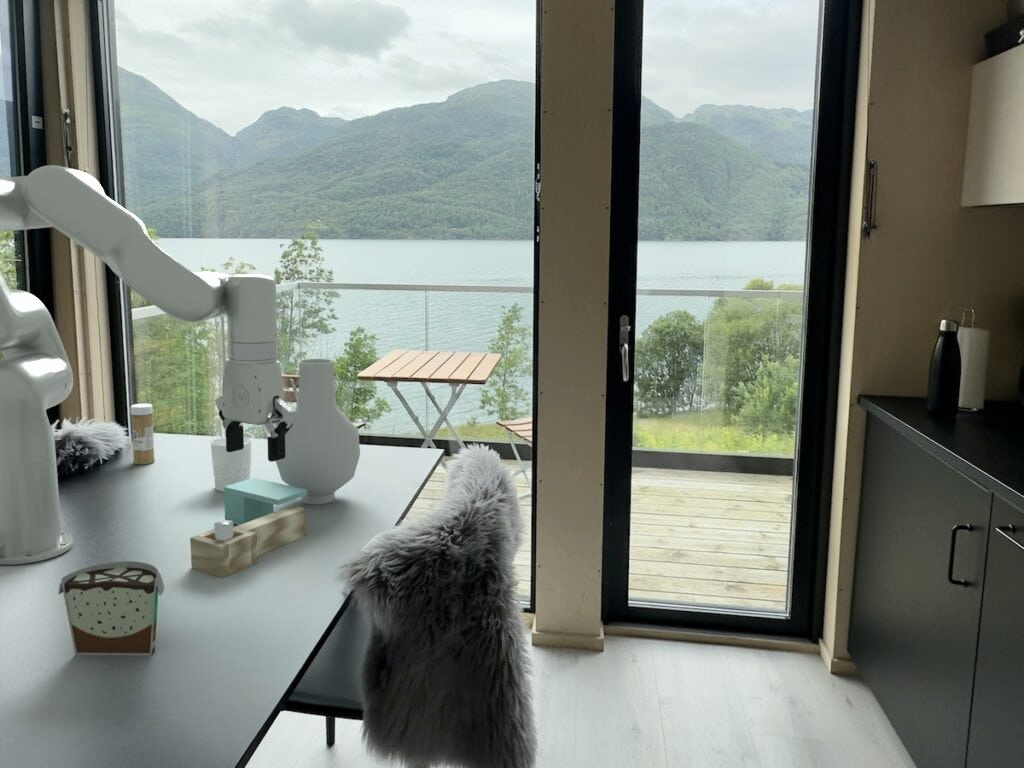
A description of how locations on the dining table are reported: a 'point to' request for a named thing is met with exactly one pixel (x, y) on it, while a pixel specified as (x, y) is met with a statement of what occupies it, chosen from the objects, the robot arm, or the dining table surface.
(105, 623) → the food container
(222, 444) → the white cup
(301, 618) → the dining table surface
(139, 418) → the sprinkles bottle
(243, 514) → the keeper
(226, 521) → the post
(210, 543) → the link
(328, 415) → the vase
